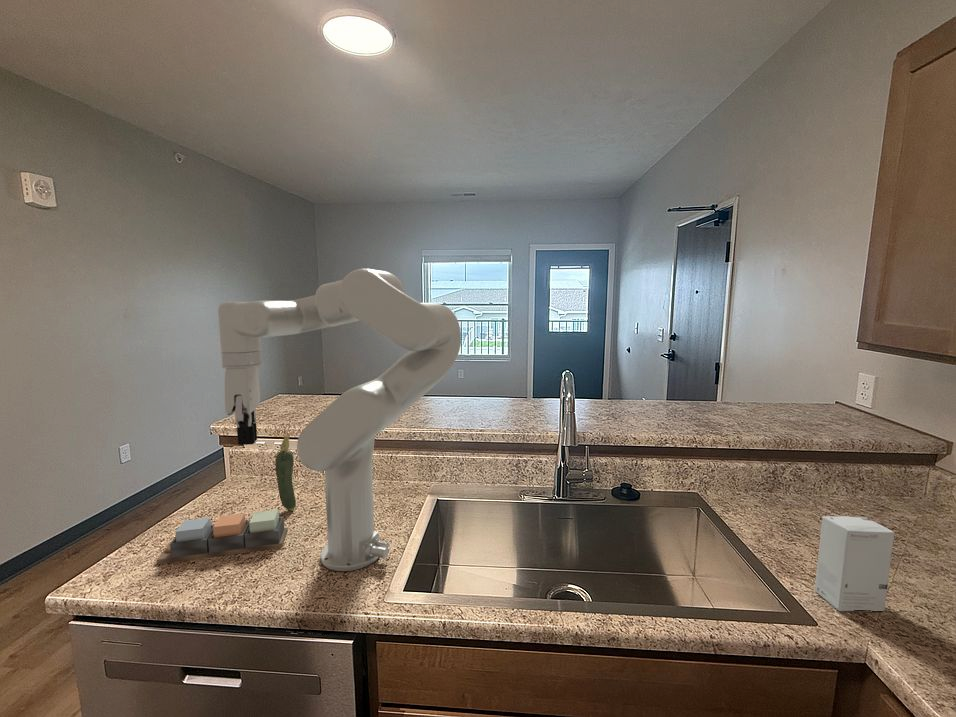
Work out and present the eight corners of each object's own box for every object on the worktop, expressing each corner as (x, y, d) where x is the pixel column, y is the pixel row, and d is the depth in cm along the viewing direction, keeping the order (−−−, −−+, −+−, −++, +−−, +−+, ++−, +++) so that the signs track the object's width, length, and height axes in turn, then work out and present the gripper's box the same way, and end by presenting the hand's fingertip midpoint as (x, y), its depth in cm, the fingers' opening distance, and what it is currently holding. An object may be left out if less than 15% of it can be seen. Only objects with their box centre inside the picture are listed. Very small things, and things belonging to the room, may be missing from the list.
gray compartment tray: (287, 531, 102) (286, 515, 101) (282, 547, 95) (281, 530, 95) (170, 546, 96) (169, 529, 95) (156, 564, 89) (154, 546, 89)
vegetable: (283, 516, 110) (279, 439, 107) (274, 511, 112) (270, 436, 110) (300, 509, 113) (295, 435, 111) (291, 505, 116) (286, 432, 113)
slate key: (211, 534, 97) (210, 517, 96) (203, 546, 92) (202, 528, 92) (186, 537, 96) (184, 520, 95) (177, 549, 91) (175, 531, 90)
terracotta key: (246, 529, 99) (245, 513, 98) (240, 541, 94) (239, 524, 93) (221, 533, 97) (220, 516, 97) (214, 544, 93) (212, 527, 92)
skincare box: (838, 612, 75) (847, 531, 73) (812, 590, 81) (819, 514, 79) (887, 613, 75) (897, 531, 73) (857, 590, 81) (866, 514, 79)
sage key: (279, 525, 100) (278, 509, 100) (275, 536, 96) (274, 519, 95) (255, 528, 99) (254, 512, 99) (250, 540, 94) (249, 522, 94)
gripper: (233, 356, 100) (238, 433, 102) (210, 365, 85) (217, 456, 87) (268, 355, 101) (273, 431, 104) (252, 363, 86) (258, 452, 89)
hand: (247, 442), depth 95 cm, fingers closed
